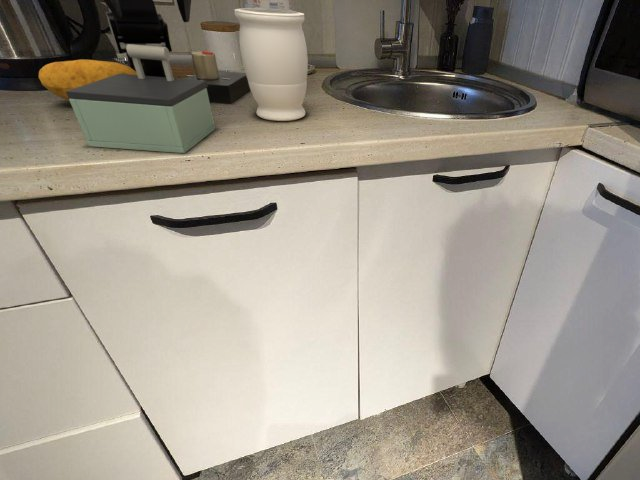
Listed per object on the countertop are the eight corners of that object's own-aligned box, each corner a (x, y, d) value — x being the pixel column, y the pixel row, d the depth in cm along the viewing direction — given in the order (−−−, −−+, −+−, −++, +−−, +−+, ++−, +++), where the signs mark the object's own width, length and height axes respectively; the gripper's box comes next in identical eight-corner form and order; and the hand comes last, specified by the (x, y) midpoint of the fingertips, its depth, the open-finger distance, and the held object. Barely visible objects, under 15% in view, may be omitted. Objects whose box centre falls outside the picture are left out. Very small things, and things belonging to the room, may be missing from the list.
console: (204, 85, 82) (200, 68, 80) (251, 89, 83) (248, 72, 81) (179, 99, 73) (174, 80, 71) (231, 103, 73) (227, 84, 71)
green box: (133, 122, 61) (118, 80, 57) (215, 129, 61) (206, 87, 58) (88, 146, 52) (68, 98, 49) (184, 153, 53) (171, 106, 49)
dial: (191, 78, 74) (185, 51, 71) (205, 74, 77) (199, 48, 74) (210, 80, 73) (205, 53, 71) (223, 77, 76) (218, 51, 74)
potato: (143, 110, 66) (129, 64, 62) (45, 111, 62) (22, 61, 58) (150, 98, 72) (137, 55, 68) (60, 98, 68) (41, 53, 64)
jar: (272, 104, 75) (259, 6, 65) (321, 112, 73) (316, 12, 63) (237, 117, 67) (218, 8, 57) (292, 127, 65) (281, 15, 55)
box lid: (121, 79, 58) (107, 40, 55) (208, 86, 58) (199, 47, 55) (68, 98, 49) (48, 52, 46) (171, 106, 49) (159, 61, 46)
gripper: (217, -126, 51) (240, 20, 61) (70, -138, 51) (117, 11, 60) (178, -149, 43) (212, 26, 52) (1, -165, 42) (68, 15, 52)
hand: (152, 19), depth 54 cm, fingers open, 9 cm apart
